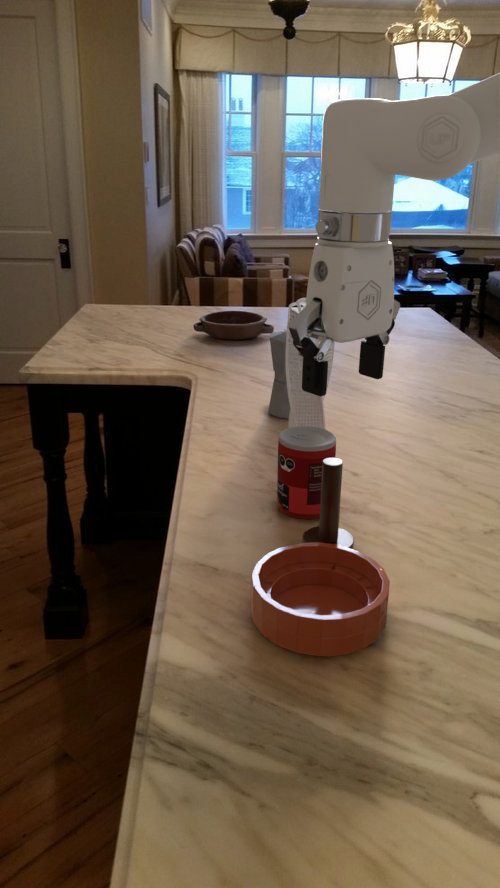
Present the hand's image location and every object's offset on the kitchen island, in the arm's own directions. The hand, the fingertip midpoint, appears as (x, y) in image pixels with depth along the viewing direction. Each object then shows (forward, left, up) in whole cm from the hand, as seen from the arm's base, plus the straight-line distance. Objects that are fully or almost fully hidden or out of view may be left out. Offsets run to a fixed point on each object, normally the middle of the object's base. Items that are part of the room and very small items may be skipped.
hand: (343, 384), depth 81 cm
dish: (-63, -95, -23) cm, 116 cm away
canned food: (-6, -11, -23) cm, 26 cm away
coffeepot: (-32, -40, -23) cm, 56 cm away
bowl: (+11, +8, -22) cm, 26 cm away
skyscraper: (-15, -20, -23) cm, 34 cm away
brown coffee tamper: (+1, 0, -22) cm, 22 cm away
